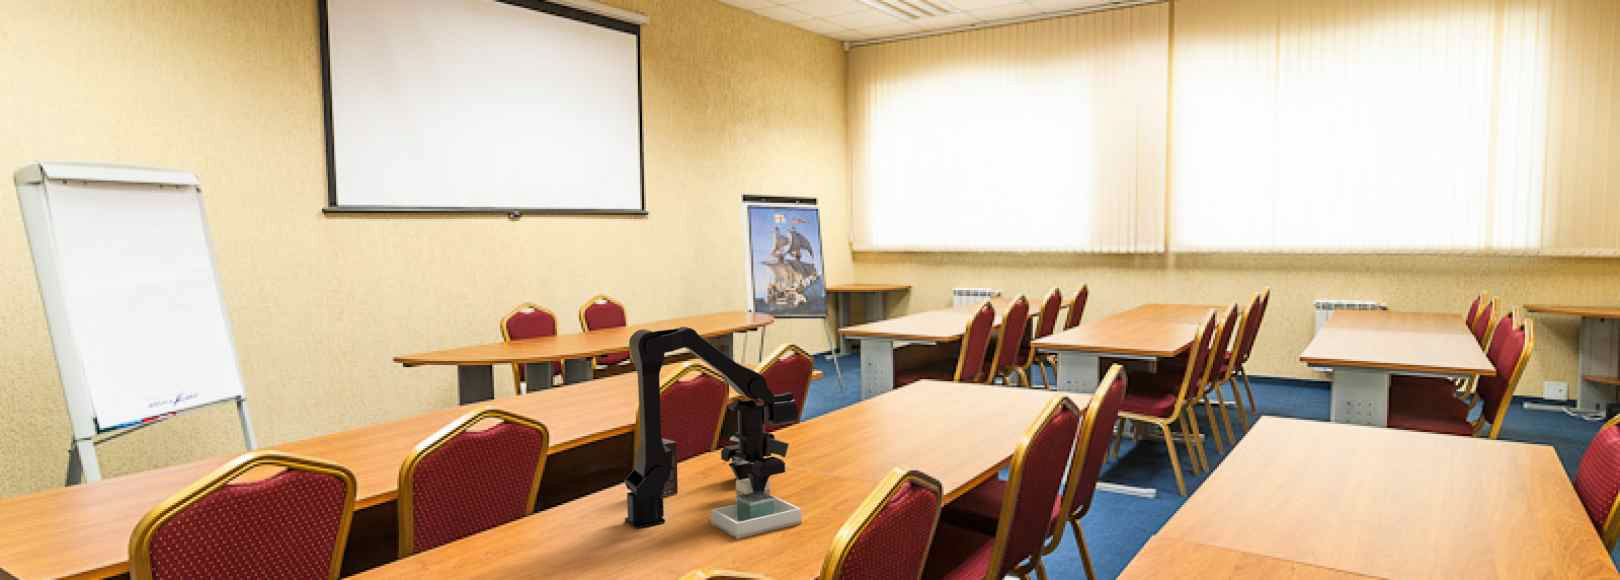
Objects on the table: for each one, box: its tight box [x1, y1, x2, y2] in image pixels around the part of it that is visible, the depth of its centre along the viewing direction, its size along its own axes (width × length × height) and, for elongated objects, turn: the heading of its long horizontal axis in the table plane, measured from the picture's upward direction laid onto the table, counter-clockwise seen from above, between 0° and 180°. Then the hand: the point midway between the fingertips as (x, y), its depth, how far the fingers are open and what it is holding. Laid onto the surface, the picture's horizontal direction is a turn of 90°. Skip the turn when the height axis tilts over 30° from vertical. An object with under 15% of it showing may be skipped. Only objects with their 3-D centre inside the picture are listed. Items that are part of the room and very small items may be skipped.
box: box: [661, 437, 679, 497], centre depth 204 cm, size 6×4×12 cm
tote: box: [710, 495, 803, 540], centre depth 181 cm, size 15×11×3 cm
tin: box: [735, 491, 775, 521], centre depth 180 cm, size 6×6×5 cm
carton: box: [735, 478, 771, 503], centre depth 195 cm, size 6×4×5 cm
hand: (753, 498), depth 195 cm, fingers closed on carton, 4 cm apart
